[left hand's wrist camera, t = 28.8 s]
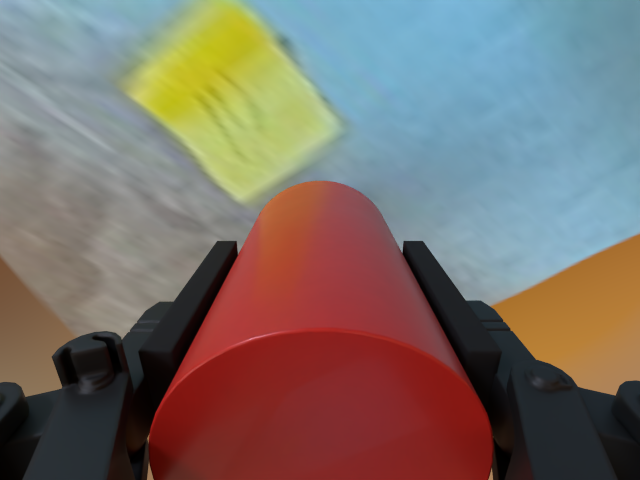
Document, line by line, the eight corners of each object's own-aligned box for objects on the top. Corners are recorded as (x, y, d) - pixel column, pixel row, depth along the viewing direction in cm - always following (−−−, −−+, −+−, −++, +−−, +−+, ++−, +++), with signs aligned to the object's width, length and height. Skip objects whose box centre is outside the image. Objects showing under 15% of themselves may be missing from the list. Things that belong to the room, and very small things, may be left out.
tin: (252, 304, 18) (165, 564, 8) (250, 175, 15) (122, 318, 5) (380, 311, 18) (454, 575, 8) (399, 185, 16) (540, 340, 6)
